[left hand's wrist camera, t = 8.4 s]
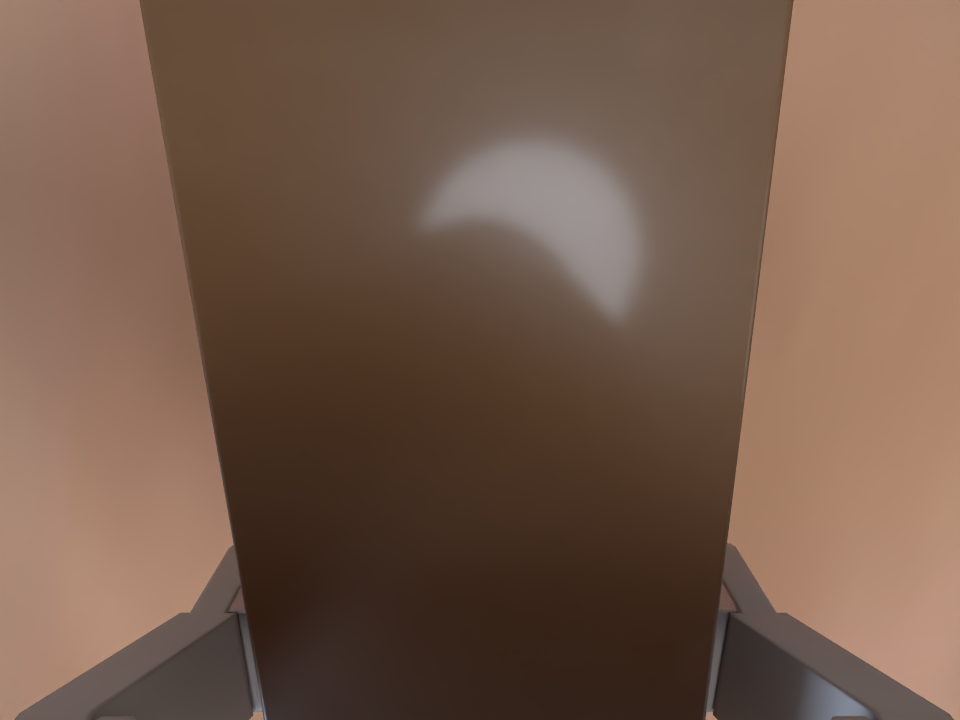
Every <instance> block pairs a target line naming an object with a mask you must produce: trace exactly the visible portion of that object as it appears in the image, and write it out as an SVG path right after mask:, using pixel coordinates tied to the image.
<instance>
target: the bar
mask: <svg viewBox="0 0 960 720" xmlns="http://www.w3.org/2000/svg"><path fill="white" fill-rule="evenodd" d="M140 6H141V11H142V17H143V23H144V29H145V35H146V40H147V46H148V52H149V58H150V63H151V69H152V75H153V81H154V87H155V92H156V98H157V104H158V110H159V115H160V121H161V127H162V133H163V139H164V144H165V150H166V156H167V162H168V167H169V173H170V179H171V185H172V191H173V196H174V202H175V208H176V214H177V219H178V225H179V231H180V237H181V243H182V248H183V254H184V260H185V266H186V271H187V277H188V283H189V289H190V295H191V300H192V306H193V312H194V318H195V323H196V329H197V335H198V341H199V347H200V352H201V358H202V364H203V370H204V375H205V381H206V387H207V393H208V399H209V404H210V410H211V416H212V422H213V427H214V433H215V439H216V445H217V451H218V456H219V462H220V468H221V474H222V479H223V485H224V491H225V497H226V503H227V508H228V514H229V520H230V526H231V531H232V537H233V543H234V549H235V554H236V560H237V566H238V572H239V578H240V583H241V589H242V595H243V601H244V606H245V612H246V618H247V624H248V630H249V635H250V641H251V647H252V653H253V658H254V664H255V670H256V676H257V682H258V687H259V693H260V699H261V705H262V710H263V716H264V720H705V717H706V709H707V701H708V693H709V684H710V676H711V668H712V660H713V652H714V644H715V635H716V627H717V619H718V611H719V603H720V595H721V587H722V578H723V570H724V562H725V554H726V546H727V538H728V529H729V521H730V513H731V505H732V497H733V489H734V480H735V472H736V464H737V456H738V448H739V440H740V431H741V423H742V415H743V407H744V399H745V391H746V382H747V374H748V366H749V358H750V350H751V342H752V334H753V325H754V317H755V309H756V301H757V293H758V285H759V276H760V268H761V260H762V252H763V244H764V236H765V227H766V219H767V211H768V203H769V195H770V187H771V178H772V170H773V162H774V154H775V146H776V138H777V129H778V121H779V113H780V105H781V97H782V89H783V81H784V72H785V64H786V56H787V48H788V40H789V32H790V23H791V15H792V7H793V0H140Z"/></svg>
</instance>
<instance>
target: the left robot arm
mask: <svg viewBox="0 0 960 720" xmlns="http://www.w3.org/2000/svg"><path fill="white" fill-rule="evenodd" d="M262 711H263V710H262V705H261V699H260V693H259V687H258V682H257V676H256V670H255V664H254V658H253V653H252V647H251V641H250V635H249V630H248V624H247V618H246V612H245V606H244V601H243V595H242V589H241V583H240V578H239V572H238V566H237V560H236V554H235V549H234V545H233V546H231V547H230V548H229V549H228V551H227V552H226V554H225V555H224V557H223V559H222V560H221V562H220V564H219V565H218V567H217V569H216V570H215V572H214V574H213V575H212V577H211V579H210V580H209V582H208V584H207V585H206V587H205V589H204V590H203V592H202V594H201V595H200V597H199V599H198V600H197V602H196V604H195V605H194V607H193V609H192V610H191V612H190V613H180V614H178V615H176V616H175V617H173V618H172V619H170V620H168V621H167V622H165V623H163V624H162V625H160V626H159V627H157V628H155V629H154V630H152V631H151V632H149V633H147V634H146V635H144V636H143V637H141V638H139V639H138V640H136V641H135V642H133V643H131V644H130V645H128V646H127V647H125V648H123V649H122V650H120V651H119V652H117V653H115V654H114V655H112V656H111V657H109V658H107V659H106V660H104V661H103V662H101V663H99V664H98V665H96V666H95V667H93V668H91V669H90V670H88V671H87V672H85V673H83V674H82V675H80V676H79V677H77V678H75V679H74V680H72V681H71V682H69V683H67V684H66V685H64V686H63V687H61V688H59V689H58V690H56V691H55V692H53V693H51V694H50V695H48V696H46V697H45V698H43V699H42V700H40V701H38V702H37V703H35V704H34V705H32V706H30V707H29V708H27V709H26V710H24V711H22V712H21V713H20V714H19V715H18V716H17V717H16V719H15V720H249V719H250V718H251V717H252V716H253V712H262ZM706 712H713V715H714V716H715V717H716V718H717V719H718V720H954V719H953V718H952V717H951V715H950V714H948V713H947V712H945V711H944V710H942V709H940V708H939V707H937V706H936V705H934V704H932V703H931V702H929V701H927V700H926V699H924V698H923V697H921V696H919V695H918V694H916V693H915V692H913V691H911V690H910V689H908V688H906V687H905V686H903V685H902V684H900V683H898V682H897V681H895V680H894V679H892V678H890V677H889V676H887V675H886V674H884V673H882V672H881V671H879V670H877V669H876V668H874V667H873V666H871V665H869V664H868V663H866V662H865V661H863V660H861V659H860V658H858V657H856V656H855V655H853V654H852V653H850V652H848V651H847V650H845V649H844V648H842V647H840V646H839V645H837V644H836V643H834V642H832V641H831V640H829V639H827V638H826V637H824V636H823V635H821V634H819V633H818V632H816V631H815V630H813V629H811V628H810V627H808V626H806V625H805V624H803V623H802V622H800V621H798V620H797V619H795V618H794V617H792V616H790V615H789V614H787V613H776V611H775V609H774V608H773V606H772V605H771V603H770V601H769V600H768V598H767V597H766V595H765V593H764V592H763V590H762V589H761V587H760V585H759V584H758V582H757V581H756V579H755V577H754V576H753V574H752V573H751V571H750V569H749V568H748V566H747V565H746V563H745V561H744V560H743V558H742V556H741V555H740V553H739V552H738V550H737V548H736V547H735V546H733V545H732V544H727V546H726V554H725V562H724V570H723V578H722V587H721V595H720V603H719V611H718V619H717V627H716V635H715V644H714V652H713V660H712V668H711V676H710V684H709V693H708V701H707V709H706Z"/></svg>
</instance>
